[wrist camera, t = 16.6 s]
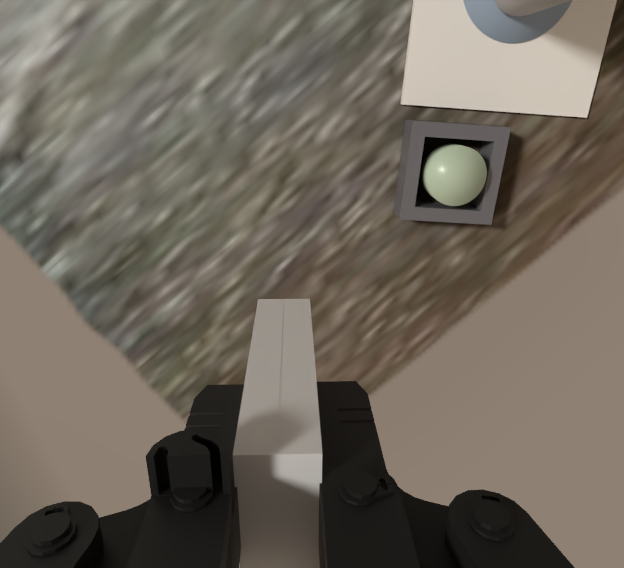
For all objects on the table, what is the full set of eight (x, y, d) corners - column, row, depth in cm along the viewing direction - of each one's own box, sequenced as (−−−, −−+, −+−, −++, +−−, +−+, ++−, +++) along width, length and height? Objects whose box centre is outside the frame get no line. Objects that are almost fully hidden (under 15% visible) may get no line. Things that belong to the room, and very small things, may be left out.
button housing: (405, 119, 36) (412, 120, 34) (497, 125, 37) (511, 127, 34) (393, 212, 39) (399, 219, 36) (479, 217, 39) (491, 224, 37)
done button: (425, 141, 36) (432, 144, 34) (481, 145, 36) (492, 147, 34) (417, 198, 37) (423, 204, 35) (471, 202, 37) (480, 207, 35)
